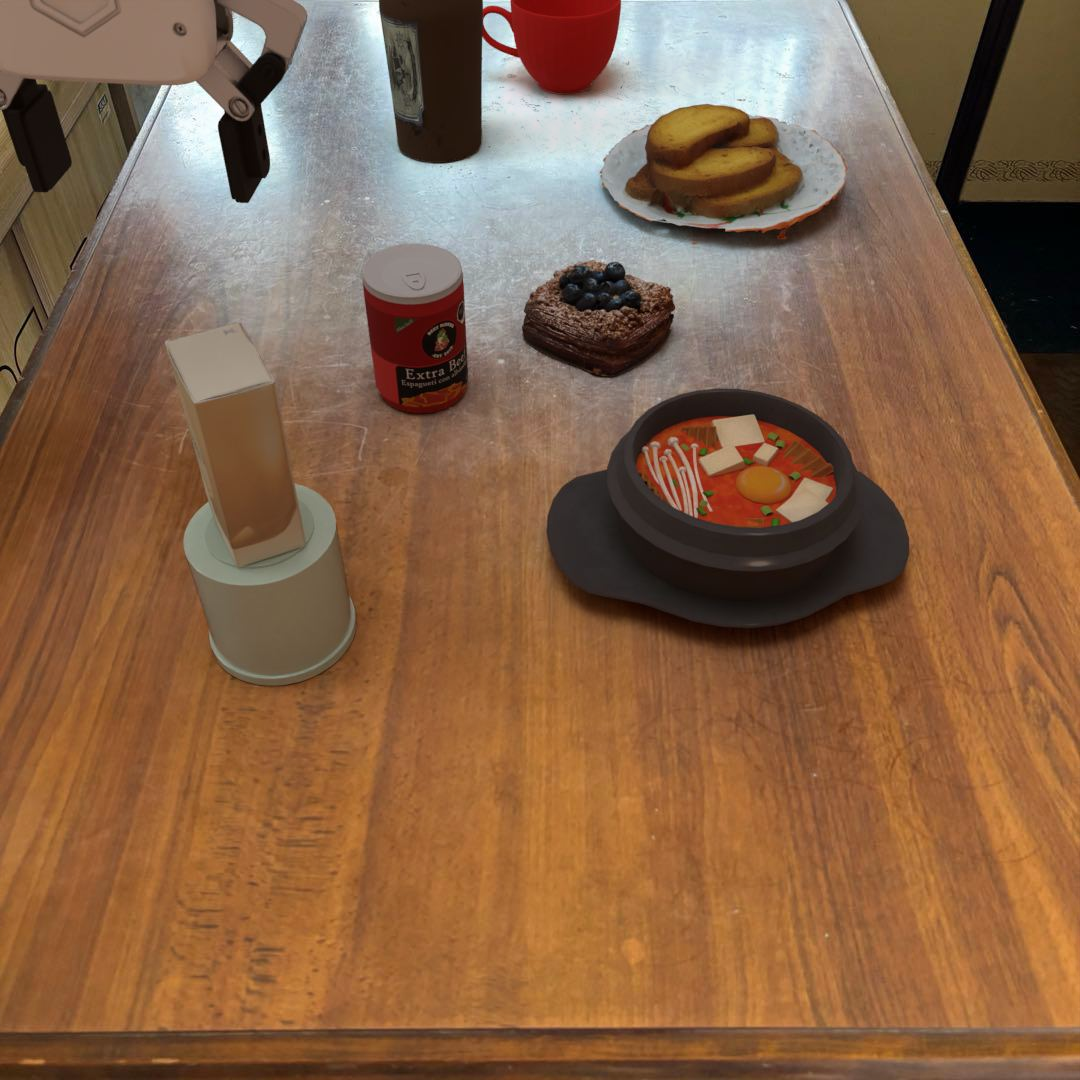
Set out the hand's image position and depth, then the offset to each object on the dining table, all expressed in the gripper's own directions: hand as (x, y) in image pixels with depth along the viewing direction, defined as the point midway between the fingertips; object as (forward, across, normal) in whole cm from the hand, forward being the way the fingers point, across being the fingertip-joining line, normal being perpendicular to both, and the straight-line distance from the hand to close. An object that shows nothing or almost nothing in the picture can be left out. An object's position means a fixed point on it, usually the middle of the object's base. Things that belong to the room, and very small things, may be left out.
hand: (151, 184), depth 53 cm
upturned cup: (+30, +3, -3) cm, 30 cm away
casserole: (+30, +32, +8) cm, 44 cm away
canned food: (+30, +8, +24) cm, 39 cm away
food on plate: (+30, +33, +62) cm, 76 cm away
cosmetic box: (+21, +2, -2) cm, 21 cm away
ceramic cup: (+30, +13, +88) cm, 93 cm away
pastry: (+30, +21, +34) cm, 50 cm away
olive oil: (+30, +2, +69) cm, 76 cm away
